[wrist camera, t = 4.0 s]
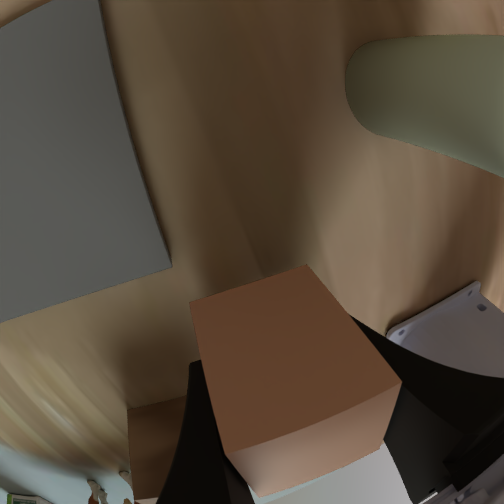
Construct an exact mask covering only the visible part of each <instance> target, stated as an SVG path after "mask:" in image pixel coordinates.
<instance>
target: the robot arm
mask: <svg viewBox="0 0 504 504" xmlns="http://www.w3.org/2000/svg"><path fill="white" fill-rule="evenodd" d="M480 287H481V283H480V282H478V281H475V282H473V283H472V284H470V285H469V286H467V287H465V288H464V289H462V290H460V291H459V292H457V293H455V294H453V295H452V296H450V297H448V298H447V299H445V300H443V301H441V302H440V303H438V304H436V305H434V306H432V307H430V308H429V309H427V310H425V311H423V312H421V313H419V314H418V315H416V316H414V317H412V318H410V319H408V320H406V321H404V322H402V323H400V324H398V325H396V326H394V327H392V328H391V329H390V330H389V331H388V333H387V336H386V337H384V336H382V335H381V334H379V333H377V332H376V331H374V330H372V329H371V328H369V327H368V326H366V325H365V324H363V323H361V322H360V321H358V320H357V319H355V318H354V317H352V316H351V315H349V316H350V317H351V318H352V319H353V321H354V322H355V323H356V324H357V326H358V327H359V328H360V329H361V330H362V332H363V333H364V334H365V335H366V337H367V338H368V339H369V340H370V342H371V343H372V344H373V345H374V347H375V348H376V349H377V350H378V352H379V353H380V354H381V355H382V357H383V358H384V359H385V361H386V362H387V363H388V364H389V366H390V367H391V368H392V369H393V371H394V372H395V373H396V375H397V376H398V377H399V378H400V380H401V381H402V384H401V387H400V391H399V394H398V397H397V400H396V404H395V407H394V410H393V413H392V416H391V419H390V421H389V424H388V427H387V430H386V433H385V435H384V438H383V440H384V442H385V444H386V446H387V448H388V450H389V452H390V454H391V456H392V457H393V460H394V462H395V464H396V466H397V468H398V471H399V473H400V475H401V478H402V480H403V483H404V485H405V488H406V490H407V493H408V495H409V498H410V500H411V501H412V503H413V504H419V503H420V502H422V501H423V500H425V499H427V498H428V497H430V496H431V495H432V494H434V493H435V492H437V493H438V494H437V495H435V496H434V497H432V498H431V499H429V500H428V501H426V502H425V503H423V504H504V313H503V312H502V311H501V310H500V309H499V308H497V307H496V306H495V305H494V304H493V303H491V302H490V301H489V300H488V299H487V298H485V297H484V296H483V295H482V294H480V293H479V291H480ZM156 504H255V503H254V500H253V498H252V495H251V492H250V490H249V487H248V484H247V482H246V481H245V480H244V478H243V477H242V476H241V475H240V473H239V472H238V471H237V469H236V468H235V467H234V466H233V464H232V463H231V462H230V460H229V459H228V458H227V456H226V455H225V452H224V449H223V445H222V441H221V438H220V434H219V430H218V427H217V423H216V419H215V415H214V411H213V407H212V403H211V399H210V395H209V391H208V387H207V383H206V379H205V374H204V370H203V366H202V361H201V360H198V361H195V362H191V363H190V365H189V380H188V390H187V398H186V404H185V411H184V417H183V422H182V426H181V431H180V435H179V440H178V444H177V447H176V451H175V454H174V458H173V461H172V464H171V467H170V470H169V472H168V475H167V478H166V481H165V483H164V486H163V488H162V491H161V493H160V495H159V497H158V499H157V501H156Z"/></svg>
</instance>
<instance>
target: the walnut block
mask: <svg viewBox="0 0 504 504" xmlns="http://www.w3.org/2000/svg"><path fill="white" fill-rule="evenodd" d="M186 398H187V396H183V397H179V398H175V399H172V400H168V401H164V402H160V403H156V404H151V405H147V406H143V407H138V408H134V409H129V410H127V417H128V439H129V454H130V466H131V477H132V487H133V495H134V501H136V502H138V503H140V504H156V501H157V499H158V497H159V495H160V493H161V491H162V488H163V486H164V483H165V481H166V478H167V475H168V472H169V470H170V467H171V464H172V461H173V458H174V454H175V451H176V447H177V444H178V440H179V435H180V431H181V426H182V422H183V417H184V411H185V404H186Z"/></svg>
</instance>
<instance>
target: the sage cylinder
mask: <svg viewBox="0 0 504 504" xmlns="http://www.w3.org/2000/svg"><path fill="white" fill-rule="evenodd" d="M345 89H346V95H347V99H348V103H349V105H350V108H351V110H352V112H353V114H354V115H355V117H356V118H357V120H358V121H359V122H360V123H361V124H362V125H363V126H364V127H365V128H366V129H368V130H369V131H371V132H373V133H375V134H377V135H381V136H385V137H389V138H392V139H396V140H399V141H403V142H406V143H409V144H413V145H416V146H419V147H422V148H425V149H429V150H432V151H435V152H438V153H441V154H443V155H446V156H449V157H452V158H455V159H457V160H460V161H463V162H466V163H468V164H471V165H473V166H476V167H479V168H481V169H484V170H486V171H488V172H491V173H493V174H496V175H498V176H500V177H503V178H504V36H498V35H429V36H415V37H403V38H394V39H385V40H377V41H372V42H368V43H366V44H364V45H362V46H361V47H360V48H359V49H357V50H356V52H355V53H354V54H353V56H352V57H351V59H350V61H349V64H348V66H347V70H346V76H345Z"/></svg>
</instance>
